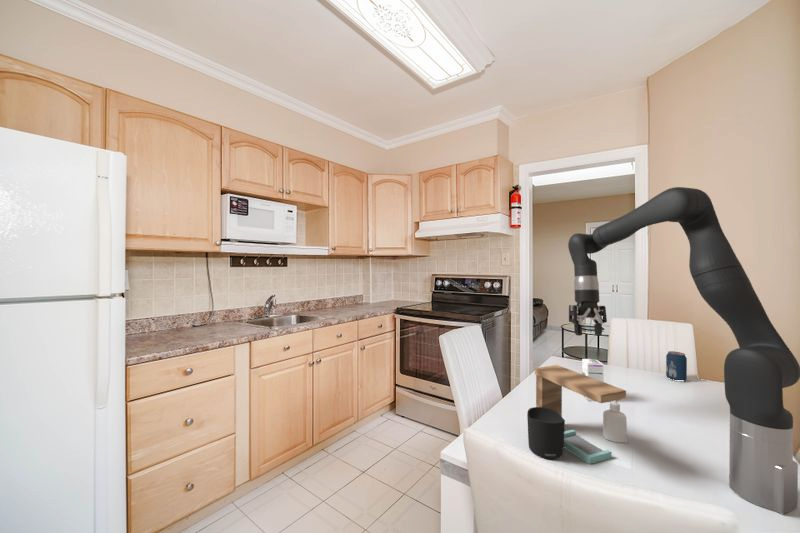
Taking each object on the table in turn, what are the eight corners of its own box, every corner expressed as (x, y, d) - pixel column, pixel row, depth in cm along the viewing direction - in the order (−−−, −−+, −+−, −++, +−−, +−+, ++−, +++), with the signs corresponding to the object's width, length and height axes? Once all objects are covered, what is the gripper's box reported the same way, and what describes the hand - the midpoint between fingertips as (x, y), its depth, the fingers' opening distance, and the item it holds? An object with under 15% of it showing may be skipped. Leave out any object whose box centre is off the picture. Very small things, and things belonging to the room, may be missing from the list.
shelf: (625, 463, 81) (625, 390, 81) (600, 471, 78) (600, 395, 78) (556, 423, 102) (557, 364, 102) (534, 428, 99) (535, 367, 99)
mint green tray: (611, 457, 84) (611, 451, 84) (589, 464, 81) (589, 457, 81) (572, 434, 95) (572, 429, 95) (552, 439, 92) (552, 434, 92)
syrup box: (604, 402, 117) (604, 363, 117) (587, 400, 119) (587, 362, 119) (598, 396, 123) (598, 359, 123) (581, 394, 124) (581, 358, 124)
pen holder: (521, 450, 87) (521, 414, 87) (535, 437, 93) (535, 404, 93) (557, 466, 80) (557, 427, 80) (569, 450, 87) (569, 414, 87)
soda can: (684, 378, 142) (684, 352, 142) (688, 383, 136) (688, 356, 136) (664, 375, 146) (664, 350, 146) (667, 380, 140) (667, 353, 140)
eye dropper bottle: (606, 432, 96) (606, 393, 96) (628, 440, 92) (628, 399, 92) (601, 437, 93) (601, 397, 93) (623, 446, 89) (623, 404, 89)
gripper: (578, 288, 106) (581, 336, 104) (611, 289, 110) (614, 336, 108) (561, 288, 113) (563, 334, 112) (593, 289, 117) (595, 333, 115)
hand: (588, 335), depth 110 cm, fingers open, 8 cm apart
